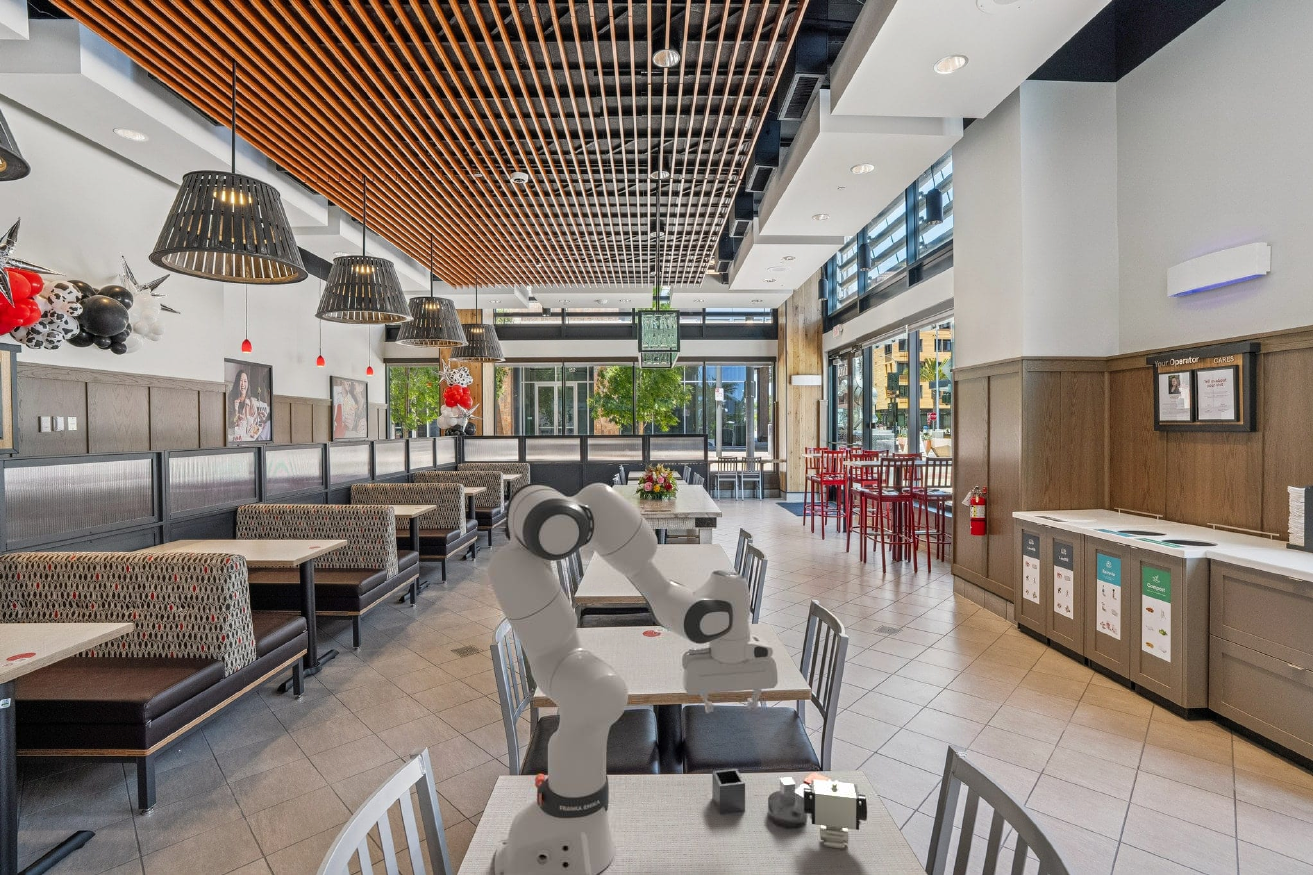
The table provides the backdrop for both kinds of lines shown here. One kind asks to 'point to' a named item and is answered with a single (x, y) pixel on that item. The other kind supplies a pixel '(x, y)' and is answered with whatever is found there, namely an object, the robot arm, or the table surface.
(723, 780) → the open square container
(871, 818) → the table surface
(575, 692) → the robot arm
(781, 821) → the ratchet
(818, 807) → the pneumatic valve
